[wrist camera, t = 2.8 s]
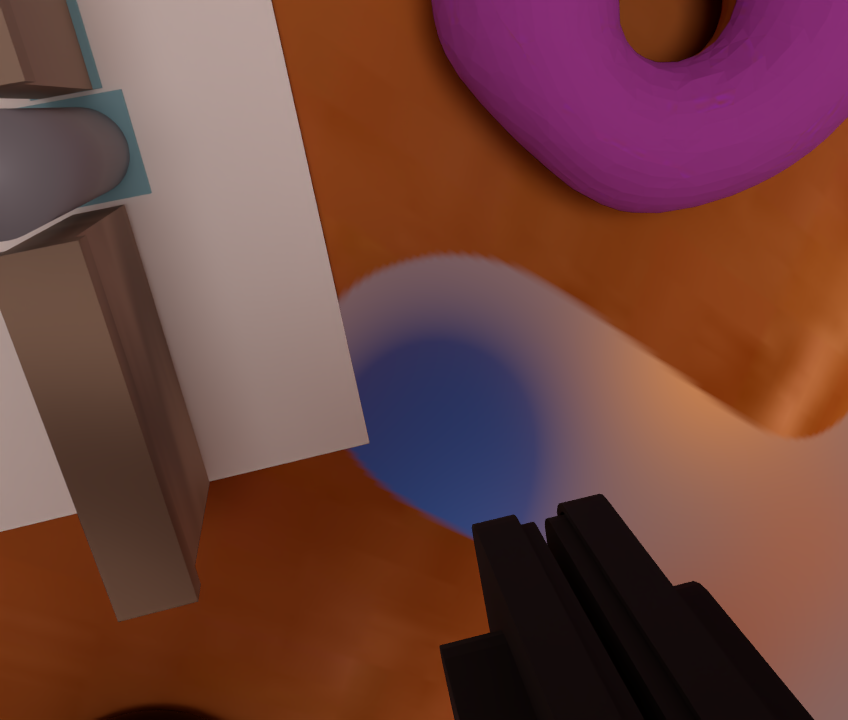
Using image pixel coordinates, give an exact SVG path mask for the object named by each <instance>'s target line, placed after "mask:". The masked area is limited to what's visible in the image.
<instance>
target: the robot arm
mask: <svg viewBox="0 0 848 720" xmlns="http://www.w3.org/2000/svg"><path fill="white" fill-rule="evenodd" d="M557 515H558V516H555V517H552V518H547V519H546V520H545V530H546V538H547V543H546V542H545V540H544V538H543V536H542V535H541V533H540V531H539V529H538V527H537V525H536V524H535V523H534V522H530V523H526V524H522V525H521V524H520V523H519V521H518V519H517V517H516V516H515V515H510V516H506V517H502V518H497V519H493V520H489V521H485V522H481V523H477V524H473V525H472V532H473V539H474V544H475V550H476V556H477V561H478V567H479V572H480V578H481V584H482V589H483V595H484V600H485V606H486V612H487V617H488V623H489V628H490V633H487V634H483V635H479V636H475V637H471V638H467V639H463V640H459V641H456V642H452V643H448V644H444V645H440V653H441V658H442V663H443V668H444V672H445V677H446V682H447V687H448V691H449V696H450V701H451V705H452V710H453V714H454V719H455V720H814V719H813V718H812V717H811V715H810V714H809V713H808V712H807V711H806V709H805V708H804V707H803V706H802V704H801V703H800V702H799V701H798V700H797V698H796V697H795V696H794V695H793V693H792V692H791V691H790V690H789V689H788V687H787V686H786V685H785V684H784V683H783V681H782V680H781V679H780V678H779V677H778V675H777V674H776V673H775V672H774V670H773V669H772V668H771V667H770V666H769V664H768V663H767V662H766V661H765V660H764V658H763V657H762V656H761V655H760V653H759V652H758V651H757V650H756V649H755V647H754V646H753V645H752V644H751V643H750V641H749V640H748V639H747V638H746V637H745V635H744V634H743V633H742V632H741V631H740V629H739V628H738V627H737V626H736V624H735V623H734V622H733V621H732V620H731V618H730V617H729V616H728V615H727V614H726V612H725V611H724V610H723V609H722V607H721V606H720V605H719V604H718V603H717V601H716V600H715V599H714V598H713V597H712V595H711V594H710V593H709V592H708V591H707V590H706V589H705V588H704V587H703V586H702V585H701V584H700V583H697V582H694V581H692V582H688V583H684V584H680V585H677V586H672V584H671V583H670V581H669V580H668V579H667V577H666V576H665V575H664V574H663V572H662V571H661V570H660V568H659V567H658V566H657V564H656V563H655V562H654V560H653V559H652V558H651V556H650V555H649V554H648V553H647V551H646V550H645V549H644V547H643V546H642V545H641V543H640V542H639V541H638V539H637V538H636V537H635V536H634V534H633V533H632V532H631V530H630V529H629V528H628V526H627V525H626V524H625V522H624V521H623V520H622V518H621V517H620V516H619V514H618V513H617V512H616V511H615V509H614V508H613V507H612V505H611V504H610V503H609V502H608V500H607V499H606V498H605V497H604V496H603V495H602V494H597V495H593V496H589V497H585V498H581V499H576V500H572V501H568V502H564V503H560V504H559V505H558V508H557Z"/></svg>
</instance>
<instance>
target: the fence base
mask: <svg viewBox="0 0 848 720" xmlns="http://www.w3.org/2000/svg"><path fill="white" fill-rule="evenodd" d="M119 205H125V208H126V211H127V215H128V218H129V221H130V224H131V228H132V231H133V234H134V237H135V241H136V244H137V247H138V250H139V254H140V257H141V260H142V264H143V267H144V270H145V273H146V277H147V280H148V283H149V286H150V290H151V293H152V296H153V299H154V303H155V306H156V309H157V312H158V316H159V319H160V322H161V325H162V329H163V332H164V335H165V339H166V342H167V345H168V348H169V352H170V355H171V358H172V361H173V365H174V368H175V371H176V374H177V378H178V381H179V384H180V387H181V391H182V394H183V397H184V401H185V404H186V407H187V410H188V414H189V417H190V420H191V423H192V427H193V430H194V433H195V436H196V440H197V443H198V446H199V449H200V453H201V456H202V459H203V463H204V466H205V469H206V472H207V476H208V479H209V482H210V481H214V480H218V479H222V478H226V477H231V476H235V475H239V474H243V473H247V472H251V471H256V470H260V469H264V468H268V467H272V466H276V465H281V464H285V463H289V462H293V461H297V460H301V459H306V458H310V457H314V456H318V455H322V454H326V453H331V452H335V451H339V450H343V449H347V448H351V447H356V446H360V445H364V444H368V443H369V439H368V434H367V429H366V425H365V420H364V416H363V411H362V407H361V403H360V398H359V393H358V389H357V384H356V380H355V375H354V371H353V366H352V362H351V357H350V353H349V348H348V344H347V339H346V335H345V330H344V326H343V322H342V317H341V312H340V308H339V303H338V299H337V294H336V290H335V285H334V281H333V276H332V272H331V267H330V263H329V258H328V254H327V249H326V245H325V240H324V236H323V231H322V227H321V222H320V218H319V213H318V209H317V204H316V200H315V195H314V191H313V186H312V182H311V177H310V173H309V168H308V164H307V159H306V155H305V150H304V146H303V141H302V137H301V132H300V128H299V123H298V119H297V114H296V110H295V105H294V101H293V96H292V92H291V87H290V83H289V78H288V74H287V69H286V65H285V60H284V56H283V51H282V47H281V42H280V38H279V33H278V29H277V24H276V20H275V15H274V11H273V6H272V2H271V0H0V252H4V251H7V250H8V249H10V248H12V247H14V246H16V245H18V244H19V243H21V242H23V241H25V240H27V239H29V238H31V237H32V236H34V235H36V234H38V233H40V232H42V231H43V230H45V229H47V228H49V227H51V226H53V225H54V224H56V223H58V222H60V221H62V220H64V219H65V218H67V217H69V216H71V215H74V214H79V213H84V212H89V211H94V210H99V209H104V208H109V207H114V206H119ZM76 513H77V512H76V509H75V506H74V504H73V501H72V498H71V496H70V493H69V490H68V488H67V485H66V483H65V480H64V477H63V475H62V472H61V469H60V467H59V464H58V461H57V459H56V456H55V453H54V451H53V448H52V446H51V443H50V440H49V438H48V435H47V432H46V430H45V427H44V424H43V422H42V419H41V416H40V414H39V411H38V409H37V406H36V403H35V401H34V398H33V395H32V393H31V390H30V387H29V385H28V382H27V379H26V377H25V374H24V372H23V369H22V366H21V364H20V361H19V358H18V356H17V353H16V350H15V348H14V345H13V342H12V340H11V337H10V335H9V332H8V329H7V327H6V324H5V321H4V319H3V316H2V313H1V311H0V532H1V531H5V530H10V529H14V528H18V527H22V526H26V525H30V524H35V523H39V522H43V521H47V520H51V519H55V518H60V517H64V516H68V515H72V514H76Z"/></svg>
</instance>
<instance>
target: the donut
mask: <svg viewBox="0 0 848 720" xmlns="http://www.w3.org/2000/svg"><path fill="white" fill-rule="evenodd" d="M431 1H432V9H433V16H434V21H435V25H436V29H437V33H438V37H439V39H440V42H441V44H442V47H443V49H444V52H445V54H446V56H447V58H448V59H449V61H450V63H451V64H452V66H453V68H454V69H455V71H456V72H457V74H458V76H459V77H460V78H461V80H462V81H463V82H464V83H465V85H466V86H467V87H468V88H469V89H470V91H471V92H472V93H473V94H474V96H475V97H476V98H477V99H478V101H479V102H480V103H481V104H482V105H483V106H484V107H485V108H486V109H487V111H488V112H489V113H490V114H491V115H492V116H493V117H494V118H495V119H496V120H497V121H498V122H499V123H500V124H501V125H502V126H503V127H504V128H505V129H506V130H507V131H508V132H509V133H510V134H511V135H512V136H513V137H514V138H515V139H516V140H517V141H518V142H519V143H520V144H521V145H522V146H523V147H524V148H525V149H526V150H527V151H529V152H530V153H531V154H532V155H533V156H534V157H535V158H536V159H538V160H539V161H540V162H541V163H542V164H543V165H544V166H545V167H546V168H548V169H549V170H550V171H551V172H552V173H554V174H555V175H556V176H557V177H559V178H560V179H561V180H562V181H564V182H565V183H566V184H567V185H569V186H570V187H571V188H572V189H574V190H576V191H578V192H580V193H582V194H583V195H585V196H587V197H589V198H591V199H593V200H595V201H597V202H598V203H600V204H602V205H605V206H608V207H611V208H614V209H617V210H620V211H626V212H637V213H661V212H667V211H673V210H679V209H684V208H690V207H695V206H699V205H702V204H706V203H709V202H712V201H715V200H719V199H722V198H725V197H728V196H732V195H734V194H736V193H738V192H741V191H743V190H745V189H748V188H750V187H753V186H755V185H757V184H759V183H761V182H763V181H765V180H767V179H769V178H771V177H773V176H775V175H776V174H778V173H780V172H781V171H783V170H785V169H786V168H788V167H789V166H791V165H792V164H794V163H795V162H797V161H798V160H799V159H801V158H802V157H804V156H805V155H806V154H808V153H809V152H811V151H812V150H813V149H814V148H816V147H817V146H818V145H819V144H820V143H821V142H823V141H824V140H825V139H826V138H827V137H828V136H829V135H830V134H831V133H832V132H833V131H834V130H835V129H836V128H837V127H838V126H839V125H840V124H841V123H842V122H843V121H844V120H845V119H846V118H847V117H848V0H722V11H721V16H720V19H719V22H718V26H717V29H716V31H715V33H714V35H713V37H712V39H711V40H710V41H709V42H708V44H707V45H706V46H705V47H704V48H703V50H702V51H701V52H699V53H698V54H696V55H694V56H693V57H690V58H688V59H685V60H682V61H679V62H654V61H652V60H649V59H646V58H644V57H642V56H641V55H639V54H638V53H636V52H635V51H634V50H633V49H632V47H631V46H630V45H629V44H628V42H627V41H626V39H625V36H624V33H623V31H622V28H621V25H620V14H619V0H431Z"/></svg>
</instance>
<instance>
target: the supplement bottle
mask: <svg viewBox="0 0 848 720" xmlns="http://www.w3.org/2000/svg"><path fill="white" fill-rule="evenodd" d="M107 720H207V719H205V718H202V717H200V716H197V715H193V714H190V713H185V712H180V711H172V710H144V711H136V712H131V713H126V714H122V715H119V716H115V717H113V718H110V719H107Z"/></svg>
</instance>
